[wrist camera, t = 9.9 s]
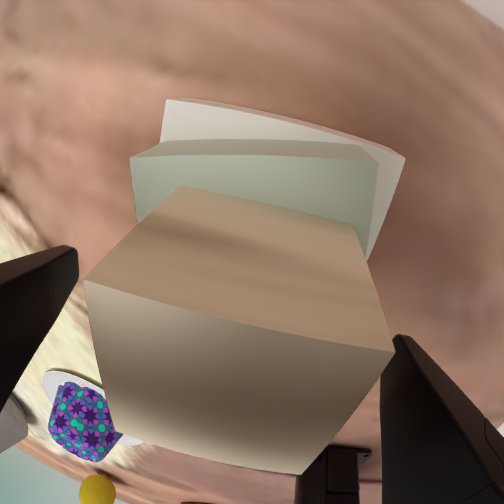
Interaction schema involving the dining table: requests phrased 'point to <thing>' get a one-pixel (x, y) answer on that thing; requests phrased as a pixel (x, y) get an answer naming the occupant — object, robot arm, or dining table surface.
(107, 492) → the lemon
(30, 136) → the dining table surface
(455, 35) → the dining table surface
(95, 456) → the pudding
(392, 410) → the robot arm
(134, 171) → the sage green block
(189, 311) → the birch cube
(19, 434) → the coffee pot
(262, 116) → the base block
